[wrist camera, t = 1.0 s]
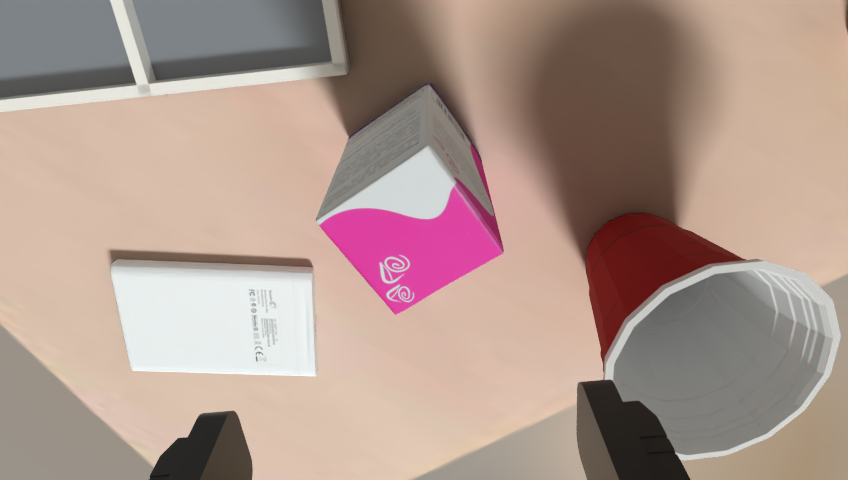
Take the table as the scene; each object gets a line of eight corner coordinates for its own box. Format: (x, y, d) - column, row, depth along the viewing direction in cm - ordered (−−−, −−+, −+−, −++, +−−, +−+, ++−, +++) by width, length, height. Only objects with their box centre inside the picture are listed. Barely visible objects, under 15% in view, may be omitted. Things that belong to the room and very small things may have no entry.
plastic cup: (726, 303, 38) (849, 438, 27) (563, 340, 39) (618, 484, 28) (717, 149, 33) (860, 238, 22) (533, 196, 34) (585, 302, 24)
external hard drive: (121, 254, 37) (315, 262, 37) (141, 358, 40) (319, 365, 41) (108, 266, 35) (311, 275, 36) (131, 373, 39) (315, 380, 39)
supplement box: (344, 139, 33) (309, 218, 23) (429, 79, 31) (433, 135, 21) (402, 215, 35) (395, 320, 25) (485, 162, 34) (514, 251, 23)
